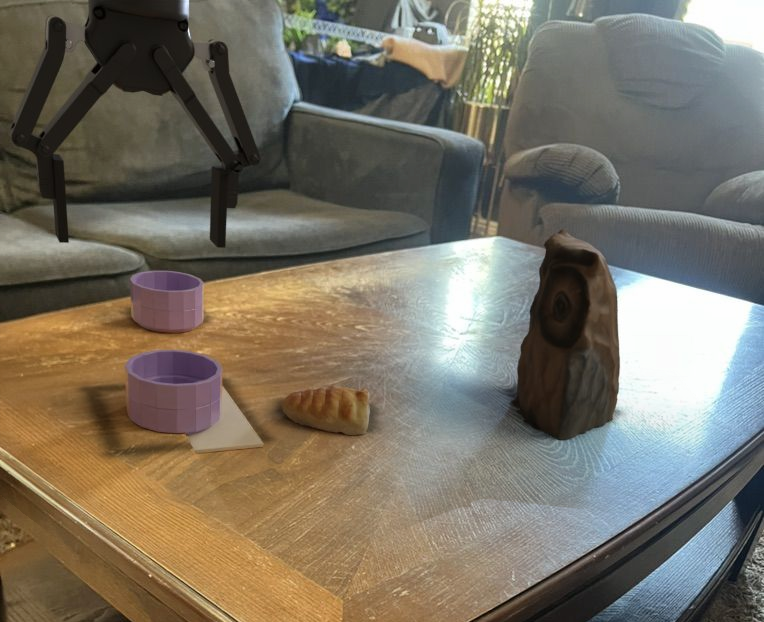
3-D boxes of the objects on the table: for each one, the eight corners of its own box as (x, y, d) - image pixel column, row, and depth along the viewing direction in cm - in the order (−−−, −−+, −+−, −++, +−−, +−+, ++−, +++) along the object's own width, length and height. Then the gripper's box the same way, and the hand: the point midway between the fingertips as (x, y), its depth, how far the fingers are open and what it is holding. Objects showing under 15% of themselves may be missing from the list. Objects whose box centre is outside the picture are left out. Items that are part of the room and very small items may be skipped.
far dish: (139, 335, 97) (138, 292, 94) (126, 311, 104) (124, 270, 101) (211, 333, 101) (211, 291, 98) (193, 310, 107) (193, 270, 105)
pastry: (278, 429, 80) (281, 394, 78) (284, 402, 86) (286, 370, 84) (369, 438, 81) (374, 404, 79) (368, 411, 86) (372, 379, 84)
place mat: (114, 461, 70) (114, 457, 70) (90, 397, 80) (90, 394, 80) (263, 446, 76) (263, 443, 76) (222, 389, 86) (223, 386, 86)
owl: (561, 446, 85) (612, 261, 75) (471, 404, 92) (507, 229, 82) (618, 420, 93) (671, 251, 83) (532, 383, 100) (571, 222, 90)
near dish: (138, 442, 73) (135, 388, 70) (120, 402, 79) (117, 351, 76) (231, 434, 77) (233, 382, 74) (207, 396, 83) (207, 347, 80)
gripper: (-47, -83, 51) (-9, 248, 62) (309, -15, 62) (288, 256, 73) (-50, -79, 56) (-14, 224, 67) (278, -17, 67) (262, 235, 78)
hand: (143, 241), depth 70 cm, fingers open, 13 cm apart
